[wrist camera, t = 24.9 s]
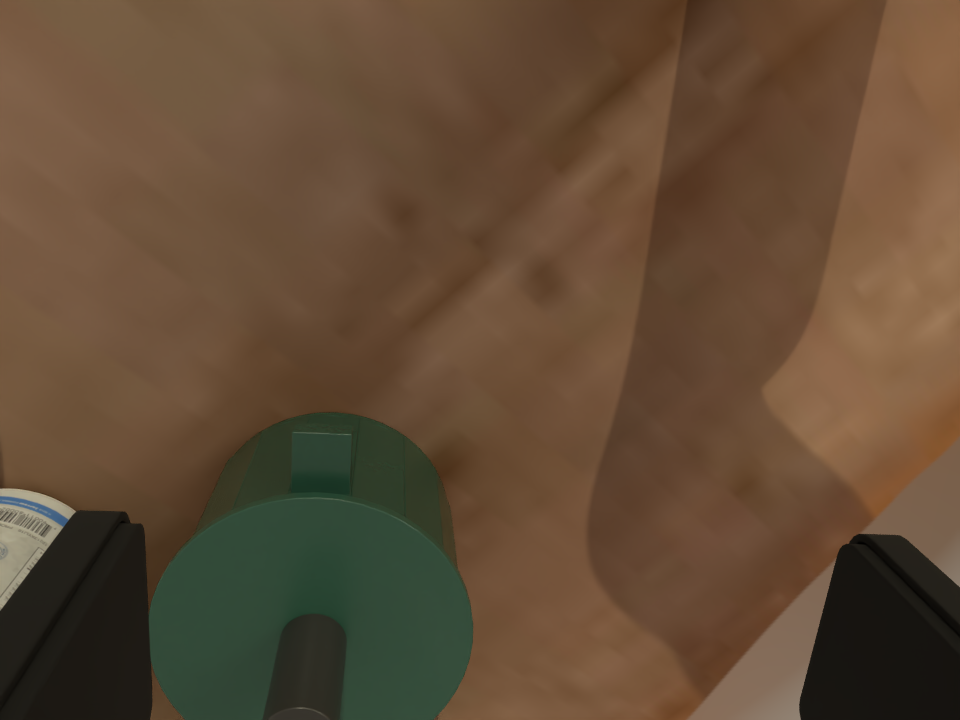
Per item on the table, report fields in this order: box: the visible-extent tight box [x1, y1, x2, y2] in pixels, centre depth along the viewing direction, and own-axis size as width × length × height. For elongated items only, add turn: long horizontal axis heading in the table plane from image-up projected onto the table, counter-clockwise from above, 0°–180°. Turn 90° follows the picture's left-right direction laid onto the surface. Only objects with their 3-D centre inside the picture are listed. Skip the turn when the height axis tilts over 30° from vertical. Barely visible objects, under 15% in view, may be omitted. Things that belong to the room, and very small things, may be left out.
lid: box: [149, 492, 473, 720], centre depth 32 cm, size 14×14×7 cm
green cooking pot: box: [194, 413, 458, 569], centre depth 39 cm, size 13×18×10 cm
